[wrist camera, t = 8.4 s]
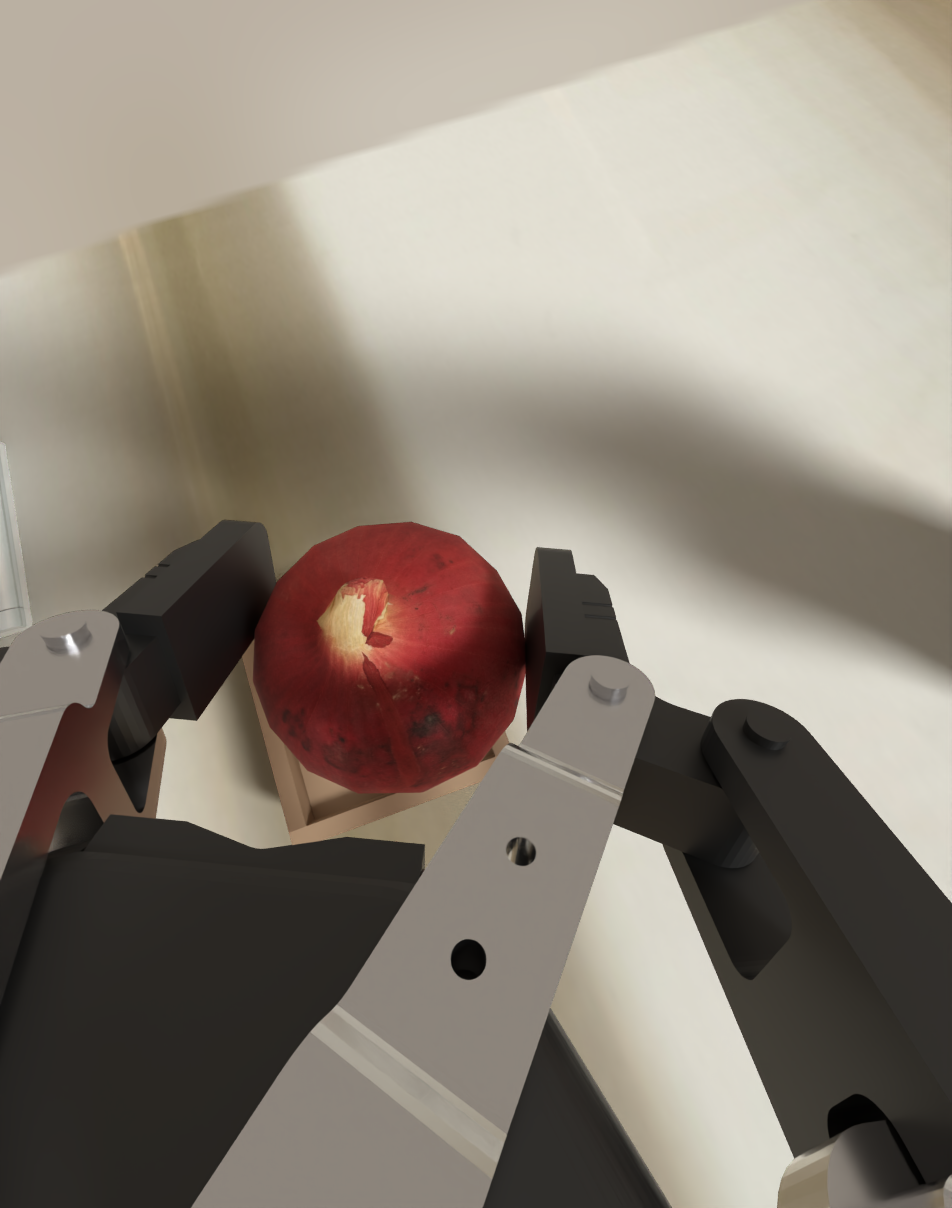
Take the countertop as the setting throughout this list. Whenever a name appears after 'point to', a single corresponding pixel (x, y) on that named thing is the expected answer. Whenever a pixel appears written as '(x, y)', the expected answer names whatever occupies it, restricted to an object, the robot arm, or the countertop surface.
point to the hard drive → (11, 561)
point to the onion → (390, 658)
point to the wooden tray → (340, 787)
